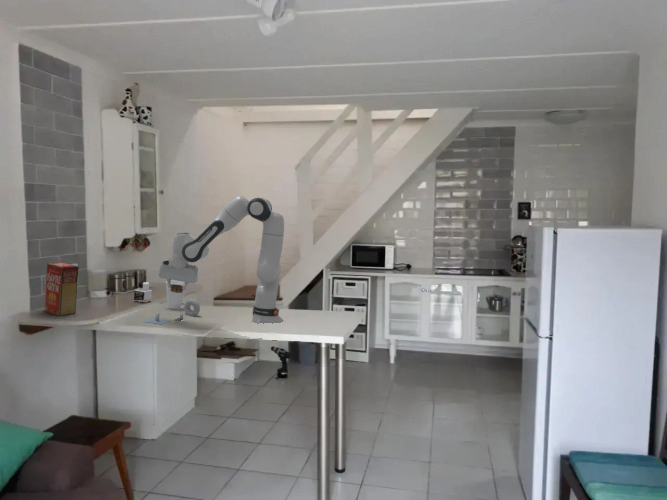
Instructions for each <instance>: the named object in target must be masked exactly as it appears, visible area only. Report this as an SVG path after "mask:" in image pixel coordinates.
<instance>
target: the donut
mask: <svg viewBox="0 0 667 500" xmlns="http://www.w3.org/2000/svg"><path fill="white" fill-rule="evenodd" d="M191 306H192V307H193V310H192V309H191ZM183 310H184V313H185V314H186V315H188V316H192V317H196V316H198V315H199V313H200V310H201V306H200V303H199V302H198V300H196V299H193V298H189V299H188V300H186V301H185V302H184V306H183ZM195 315H196V316H195Z"/></svg>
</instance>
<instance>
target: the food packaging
mask: <svg viewBox="0 0 667 500" xmlns="http://www.w3.org/2000/svg"><path fill="white" fill-rule="evenodd" d="M79 268H80V267H79V265H74V264H70V263H66V262H64V261H61V262H60V261H59V262H47V263H46V281H45V299H44V310H43V311H44V312H47V313H50V314H52V315H55V316H58V317H62V316H69V314H70V315H74V313H75V314H76V313H77V312H76V311H77V295H78V293H77V292H78V280H79Z"/></svg>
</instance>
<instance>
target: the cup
mask: <svg viewBox="0 0 667 500" xmlns="http://www.w3.org/2000/svg"><path fill="white" fill-rule="evenodd" d="M170 282H171V284H177V285H182V286H184V285H185V284H184V282H182V281H176V280H171V281H170ZM168 285H169V284H168V282H167V280H166V281H165V289H166V291H165V292H166V293H165V294H166V305H167V308H168V309H171V310H179V311H180V310H181V307H182V304H183V301H184V298H185V297H184V296H185V293H186V290H183V292H182V293H175V292H171V291H170V290H171V288H168Z"/></svg>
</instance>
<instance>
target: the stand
mask: <svg viewBox="0 0 667 500" xmlns="http://www.w3.org/2000/svg"><path fill="white" fill-rule="evenodd" d="M183 319H184V313H180V315H179V317H177V318H175V319H173V321H175V322H181V320H183Z"/></svg>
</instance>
